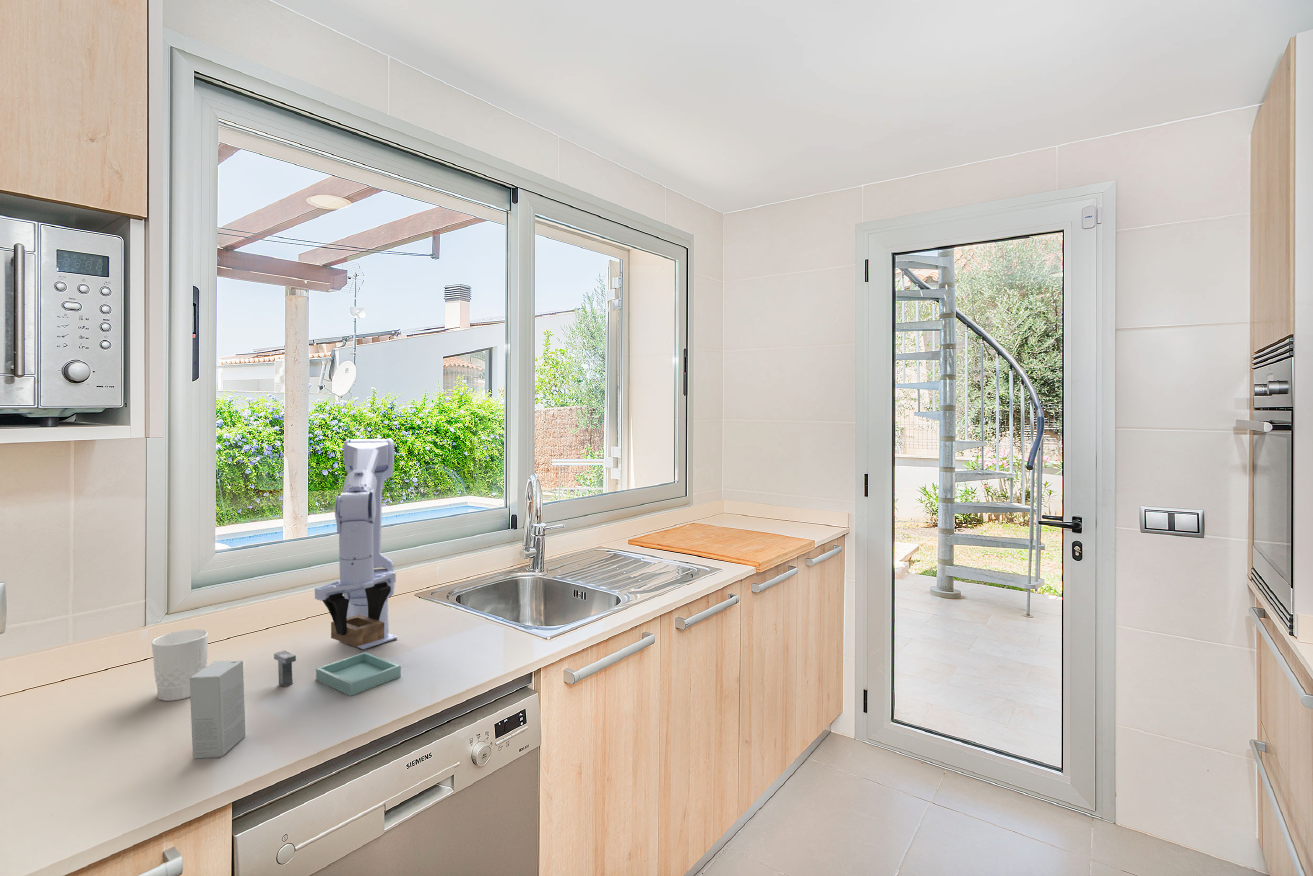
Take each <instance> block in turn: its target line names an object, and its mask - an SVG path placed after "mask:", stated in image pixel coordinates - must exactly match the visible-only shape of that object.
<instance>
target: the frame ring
mask: <svg viewBox="0 0 1313 876" xmlns="http://www.w3.org/2000/svg"><path fill="white" fill-rule="evenodd" d="M330 624H331V625H330V629H331V630H330V638H331V639H333V640H336V641H338V642H340V643H343V644H346V645H350V646H352V647H354V648H358V647H357V646H361V645H364V644H367V643H370V642H374V641H377V640H380V639H383V638H384V622H382V621H379V620H375V619H372V618H369V617H366V616H363V615H356V616H352V617H348V618H347V632H346V634H345V635H340V634H337V632H336V628H335V624H334V621H333V620H332V621H331V622H330Z"/></svg>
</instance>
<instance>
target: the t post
mask: <svg viewBox="0 0 1313 876" xmlns="http://www.w3.org/2000/svg"><path fill="white" fill-rule="evenodd" d="M273 660H276V661H277V663H278V665H277V669H278V672H277V673H278V685H279V686H280V687H283V688H284V687H287V686H290V685H292V684H293V663H294V662H296V660H297V657H296V655H295V654H293V653H291V652H289V651H287V650H282V651H278V652H275V653H273Z"/></svg>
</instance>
